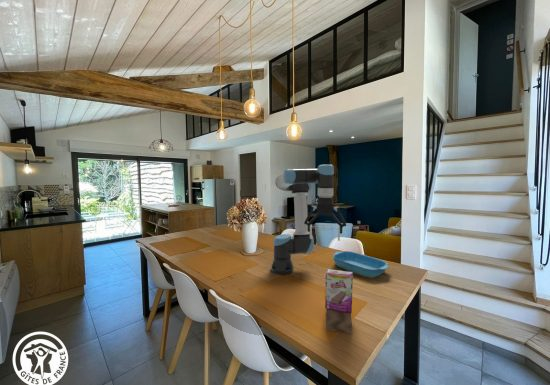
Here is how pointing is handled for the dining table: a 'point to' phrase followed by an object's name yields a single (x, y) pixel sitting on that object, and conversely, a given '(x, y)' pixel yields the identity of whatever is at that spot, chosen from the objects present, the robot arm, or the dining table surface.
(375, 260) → the casserole dish
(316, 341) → the dining table surface
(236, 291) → the dining table surface
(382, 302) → the dining table surface
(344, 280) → the candy bar box
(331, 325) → the walnut block
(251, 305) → the dining table surface
